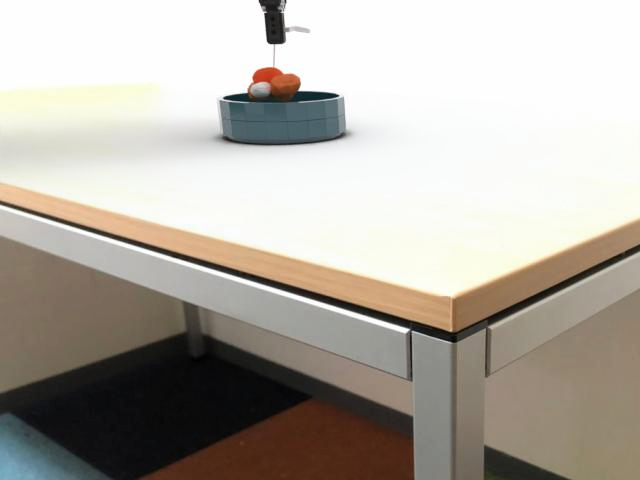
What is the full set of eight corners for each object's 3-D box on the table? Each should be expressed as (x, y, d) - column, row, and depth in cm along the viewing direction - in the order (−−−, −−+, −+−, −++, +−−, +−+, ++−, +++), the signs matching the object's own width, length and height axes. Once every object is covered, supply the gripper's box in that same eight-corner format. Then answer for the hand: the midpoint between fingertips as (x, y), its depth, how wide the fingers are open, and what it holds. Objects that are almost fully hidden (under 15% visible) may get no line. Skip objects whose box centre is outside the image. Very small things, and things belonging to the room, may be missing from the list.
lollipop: (301, 91, 93) (292, -11, 91) (235, 99, 96) (225, 1, 94) (323, 97, 99) (315, 2, 97) (261, 105, 102) (251, 12, 100)
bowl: (211, 146, 92) (205, 103, 90) (233, 127, 107) (228, 91, 105) (344, 143, 94) (342, 102, 92) (348, 125, 108) (346, 89, 106)
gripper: (240, -105, 95) (254, 42, 101) (220, -123, 82) (238, 46, 89) (299, -104, 95) (310, 42, 102) (289, -122, 83) (302, 46, 90)
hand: (276, 43), depth 96 cm, fingers closed on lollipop, 1 cm apart
